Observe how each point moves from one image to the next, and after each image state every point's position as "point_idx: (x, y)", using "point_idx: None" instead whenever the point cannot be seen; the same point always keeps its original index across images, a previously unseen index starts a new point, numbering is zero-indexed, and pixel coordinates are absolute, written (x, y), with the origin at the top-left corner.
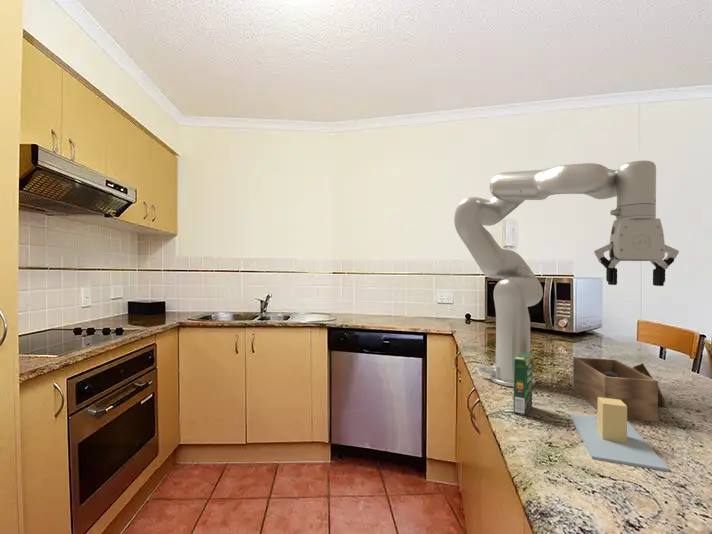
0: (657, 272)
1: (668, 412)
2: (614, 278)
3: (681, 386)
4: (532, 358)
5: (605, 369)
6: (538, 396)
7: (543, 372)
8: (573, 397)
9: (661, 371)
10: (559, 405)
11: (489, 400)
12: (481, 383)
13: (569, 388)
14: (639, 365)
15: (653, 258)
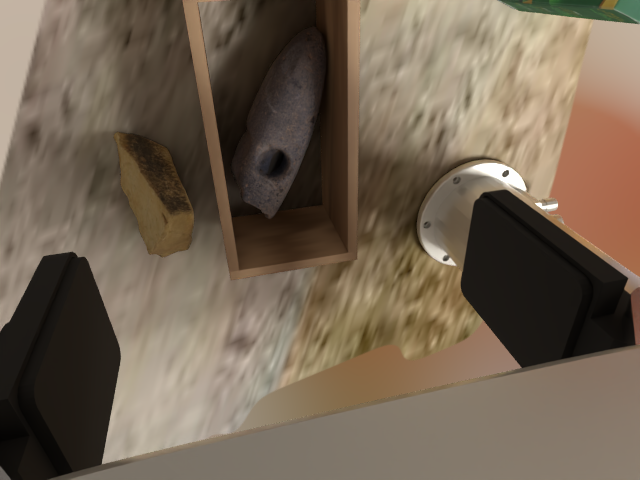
0: (66, 404)
1: (125, 87)
2: (534, 215)
3: None
4: (603, 1)
5: (259, 249)
6: (445, 104)
7: (361, 327)
8: None
9: None
10: (416, 39)
11: None
12: (552, 165)
13: None
14: (178, 210)
15: (142, 471)
